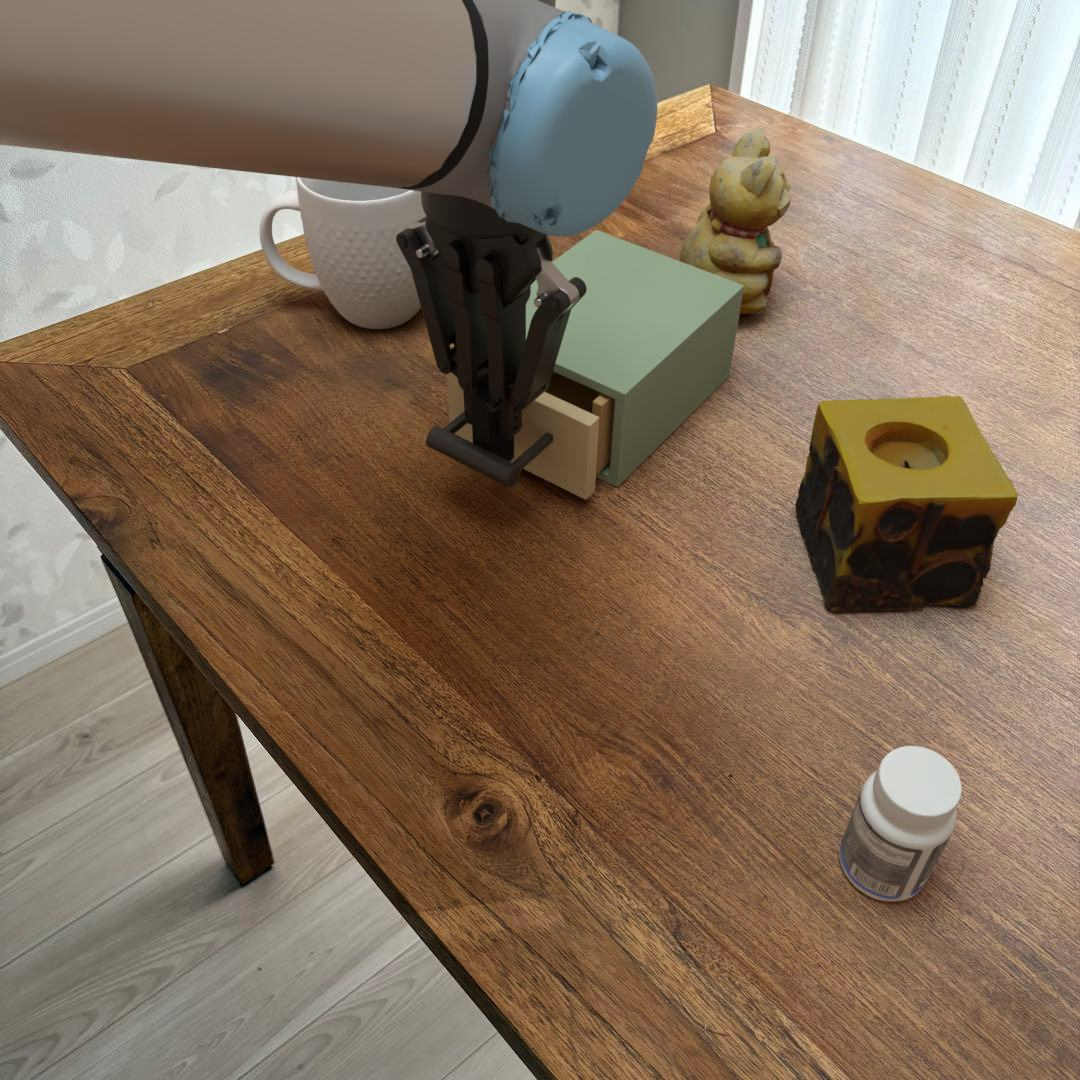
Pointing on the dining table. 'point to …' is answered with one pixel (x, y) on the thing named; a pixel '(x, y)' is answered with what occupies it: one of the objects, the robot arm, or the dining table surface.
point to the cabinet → (644, 340)
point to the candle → (901, 503)
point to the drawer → (539, 437)
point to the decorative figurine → (742, 221)
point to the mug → (352, 248)
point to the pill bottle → (901, 824)
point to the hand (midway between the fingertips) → (494, 463)
